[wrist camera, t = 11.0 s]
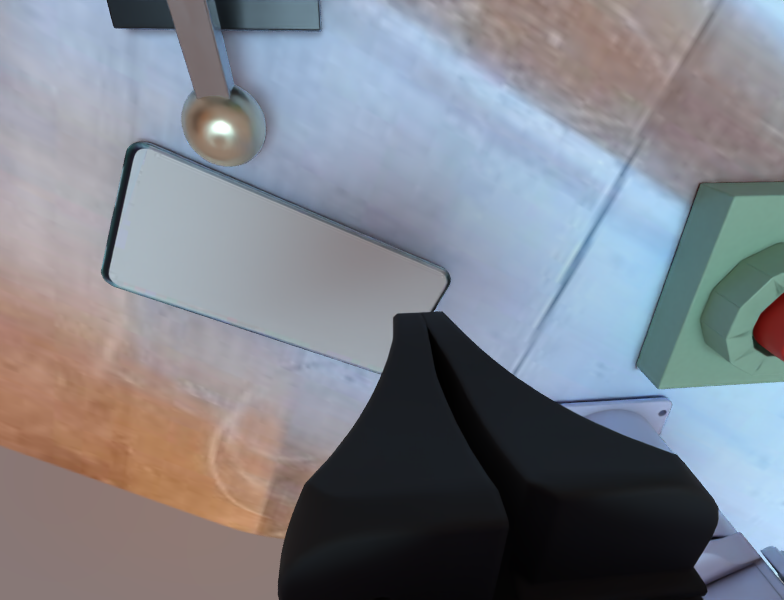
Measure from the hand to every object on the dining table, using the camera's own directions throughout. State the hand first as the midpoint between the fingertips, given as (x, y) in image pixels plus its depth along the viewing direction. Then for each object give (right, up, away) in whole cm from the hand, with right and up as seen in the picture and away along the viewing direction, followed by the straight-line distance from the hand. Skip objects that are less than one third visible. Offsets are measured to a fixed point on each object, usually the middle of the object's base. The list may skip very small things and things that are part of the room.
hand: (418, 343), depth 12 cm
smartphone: (-6, +3, +9) cm, 11 cm away
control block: (+18, +2, +12) cm, 22 cm away
